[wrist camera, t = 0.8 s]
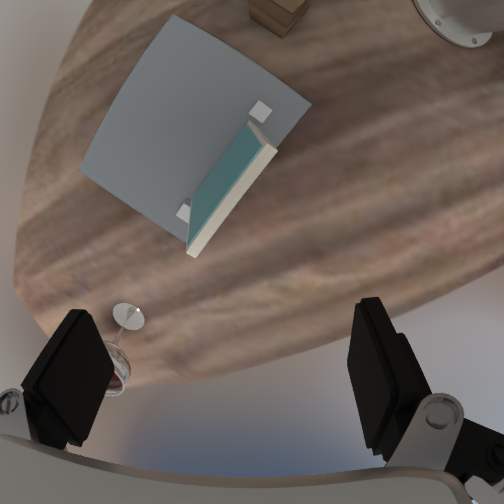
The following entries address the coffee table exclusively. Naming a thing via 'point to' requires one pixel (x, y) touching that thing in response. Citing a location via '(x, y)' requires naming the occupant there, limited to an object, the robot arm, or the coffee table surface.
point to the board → (183, 121)
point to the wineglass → (130, 320)
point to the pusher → (278, 14)
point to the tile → (227, 185)
